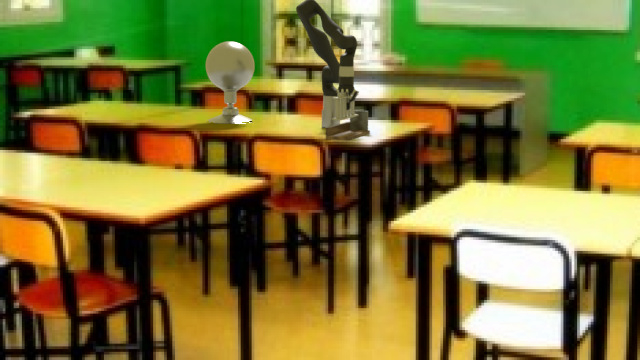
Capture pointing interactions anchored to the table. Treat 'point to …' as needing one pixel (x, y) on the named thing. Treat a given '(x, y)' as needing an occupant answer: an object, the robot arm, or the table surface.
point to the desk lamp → (230, 76)
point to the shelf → (350, 128)
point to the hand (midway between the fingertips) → (345, 109)
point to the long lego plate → (344, 107)
